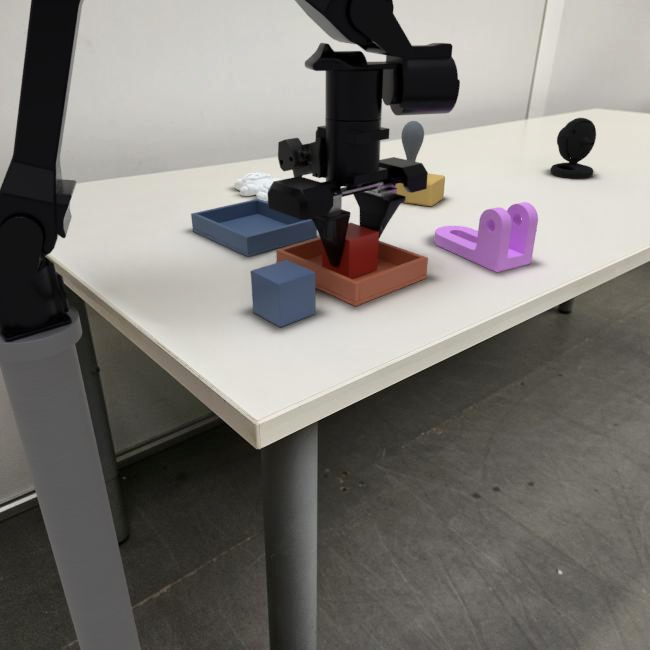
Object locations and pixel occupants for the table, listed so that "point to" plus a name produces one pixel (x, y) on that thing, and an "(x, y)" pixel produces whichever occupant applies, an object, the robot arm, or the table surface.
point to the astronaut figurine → (255, 184)
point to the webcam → (575, 148)
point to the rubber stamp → (412, 145)
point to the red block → (356, 252)
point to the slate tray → (251, 227)
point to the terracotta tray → (390, 275)
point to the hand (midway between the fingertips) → (350, 260)
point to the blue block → (283, 292)
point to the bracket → (494, 238)
